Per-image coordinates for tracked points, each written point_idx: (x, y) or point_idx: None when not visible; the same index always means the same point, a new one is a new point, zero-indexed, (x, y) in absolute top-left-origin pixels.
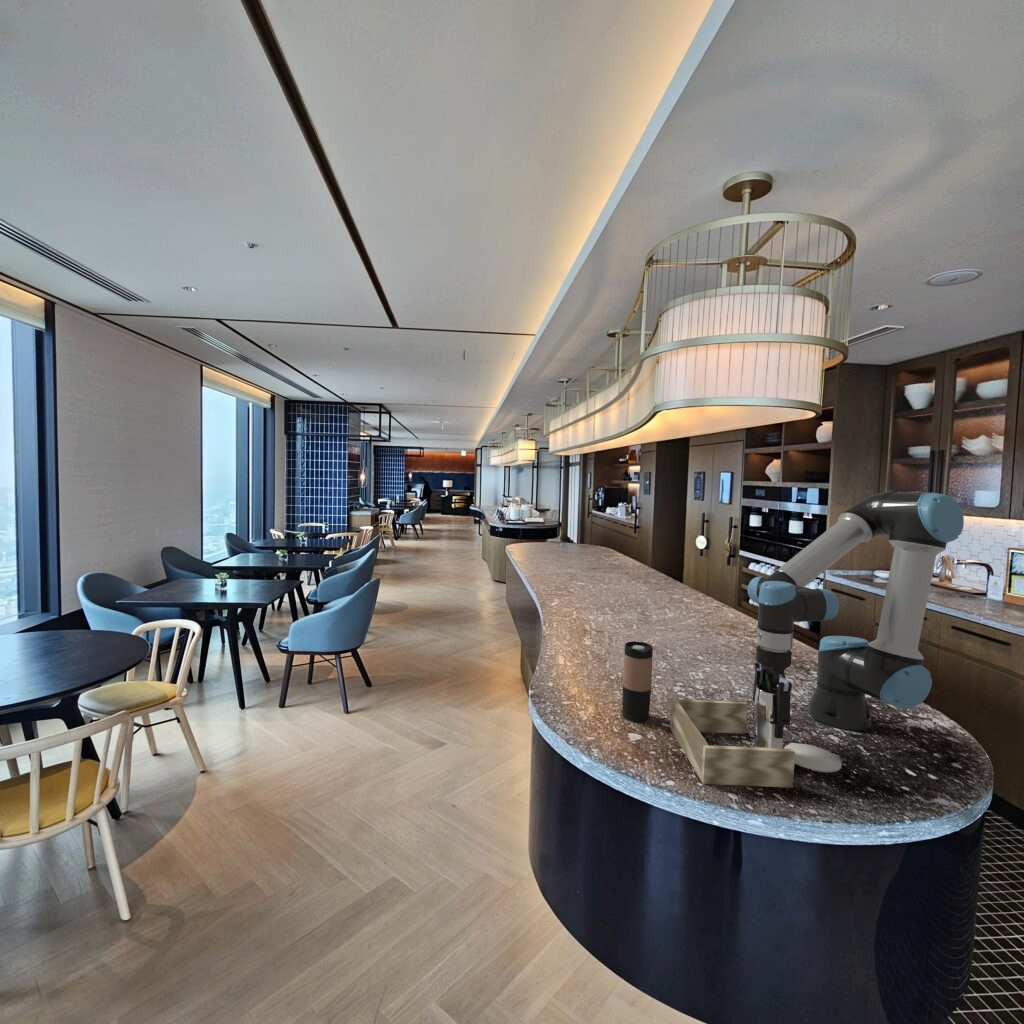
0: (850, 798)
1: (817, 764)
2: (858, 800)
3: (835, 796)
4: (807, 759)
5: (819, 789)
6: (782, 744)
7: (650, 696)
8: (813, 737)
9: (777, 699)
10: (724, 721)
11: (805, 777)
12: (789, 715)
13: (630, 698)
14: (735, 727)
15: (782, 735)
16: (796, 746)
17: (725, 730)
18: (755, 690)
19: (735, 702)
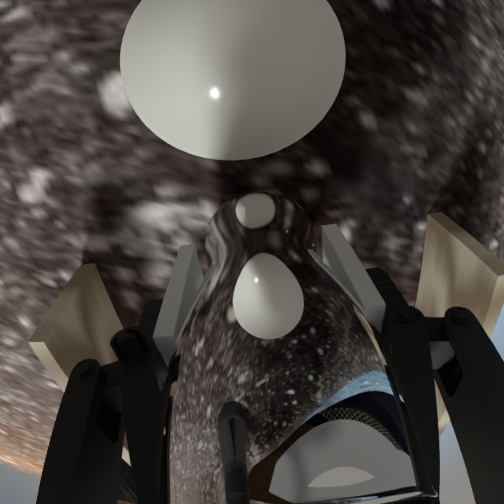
0: (474, 64)
1: (305, 57)
2: (478, 47)
3: (471, 103)
4: (269, 82)
5: (446, 131)
6: (344, 237)
7: (126, 483)
8: (43, 15)
9: (475, 482)
10: (111, 353)
11: (387, 142)
12: (495, 354)
13: None
14: (101, 308)
15: (388, 278)
16: (152, 93)
17: (118, 327)
18: (117, 467)
19: (60, 378)
